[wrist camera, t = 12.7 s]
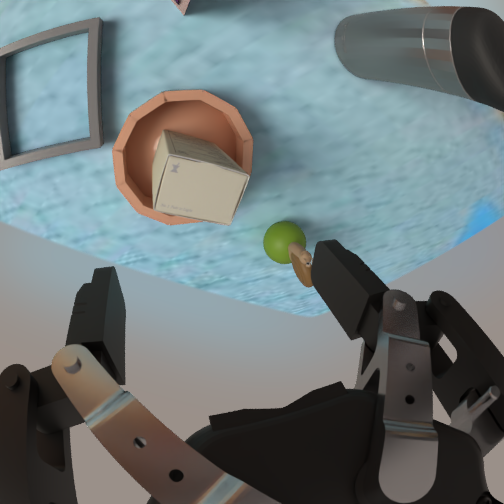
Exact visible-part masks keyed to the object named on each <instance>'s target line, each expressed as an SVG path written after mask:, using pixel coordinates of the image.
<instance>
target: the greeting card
mask: <svg viewBox="0 0 504 504" xmlns="http://www.w3.org/2000/svg"><path fill="white" fill-rule="evenodd" d="M172 2H173V3H174V4H175V5H176V6H177V8H178V9H179V10H180V11H181V13H182V14H183V15H185V12H186V9H187V7H188V4H189V2H190V0H172Z"/></svg>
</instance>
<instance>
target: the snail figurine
mask: <svg viewBox="0 0 504 504" xmlns="http://www.w3.org/2000/svg"><path fill="white" fill-rule="evenodd" d="M263 244H264V249H265V252H266V254H267V255H268V256H269V257H270V258H271V259H272V260H273V261H275V262H277V263H280V264H289V263H292V265H293V268H294V271H295V273H296V275H297V277H298V279H299V280H300V281H301V283H302V284H303V285H304V286H306V287H312V286H313V284H312V281H311V268H312V265H311V263H310V262H311V260H312V263H313V258H312V256H311V254H310V253H309V252H308V251H306V250H305V247H306V238H305V235H304V233H303V231H302V230H301V228H300V227H299V226H297V225H296V224H294V223H292V222H288V221H281V222H277V223H275V224H273V225H272V226H271V227H270V228H269V229H268V230H267V232H266V233H265V236H264V241H263Z"/></svg>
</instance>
